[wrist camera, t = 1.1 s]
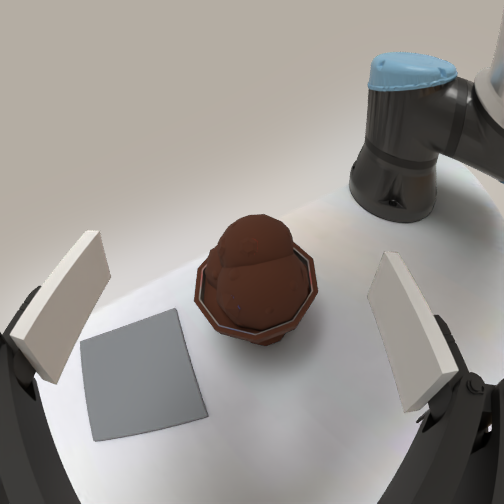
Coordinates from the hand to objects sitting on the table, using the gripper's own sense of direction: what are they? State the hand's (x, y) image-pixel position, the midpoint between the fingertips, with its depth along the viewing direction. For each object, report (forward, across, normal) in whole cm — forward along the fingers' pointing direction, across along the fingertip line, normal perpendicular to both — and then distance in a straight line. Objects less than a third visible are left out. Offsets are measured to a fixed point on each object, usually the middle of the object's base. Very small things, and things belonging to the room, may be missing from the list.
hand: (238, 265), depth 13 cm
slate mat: (+6, -12, -22) cm, 26 cm away
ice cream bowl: (+12, +3, -18) cm, 21 cm away
